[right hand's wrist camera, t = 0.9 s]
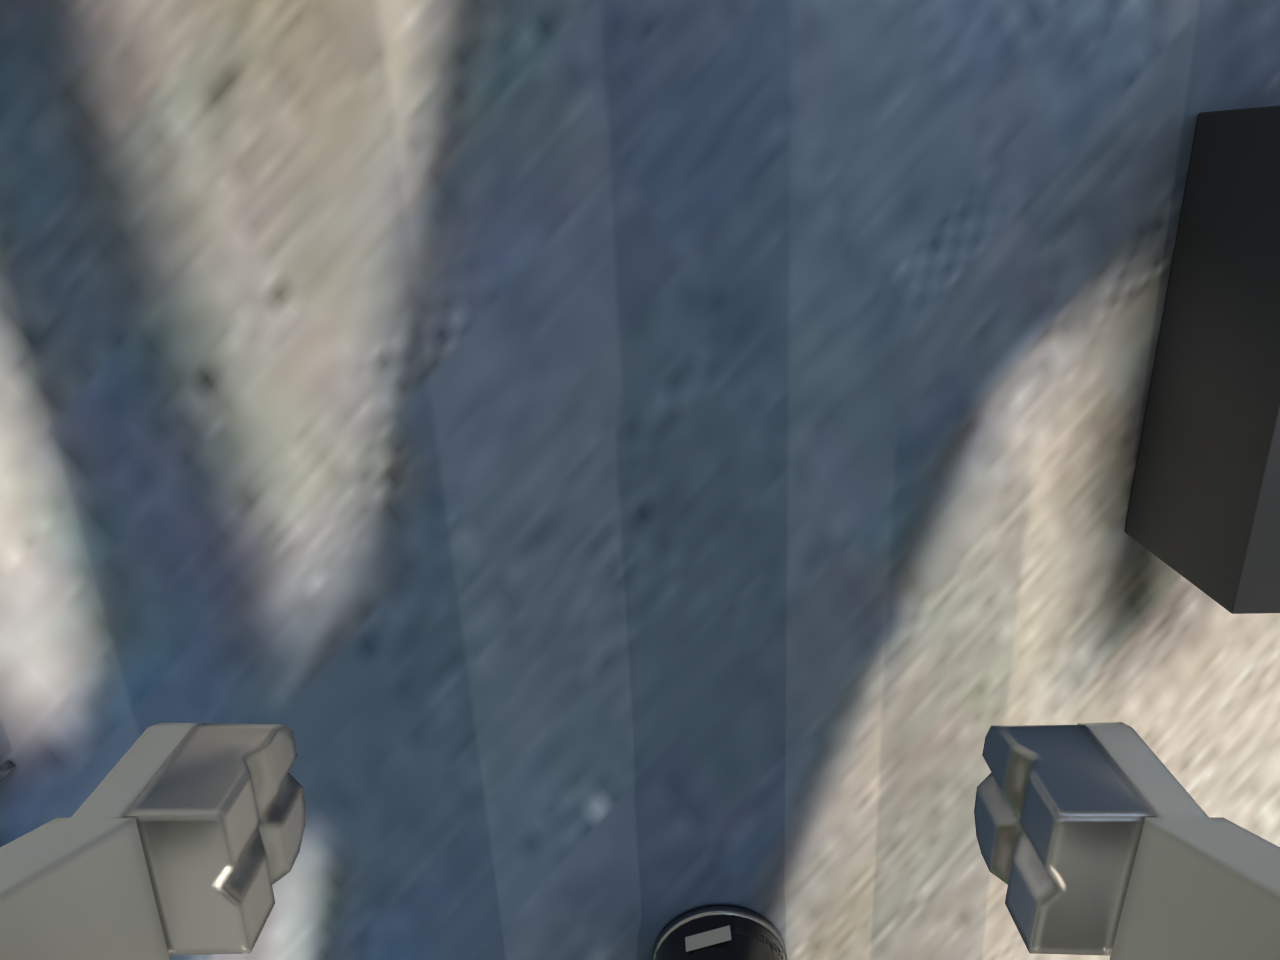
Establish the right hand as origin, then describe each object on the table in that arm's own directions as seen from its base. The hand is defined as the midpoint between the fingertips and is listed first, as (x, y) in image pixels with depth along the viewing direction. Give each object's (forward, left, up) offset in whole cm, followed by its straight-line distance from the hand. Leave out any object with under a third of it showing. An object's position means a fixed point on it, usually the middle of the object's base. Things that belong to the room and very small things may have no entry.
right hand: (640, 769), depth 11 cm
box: (+3, +31, -40) cm, 50 cm away
